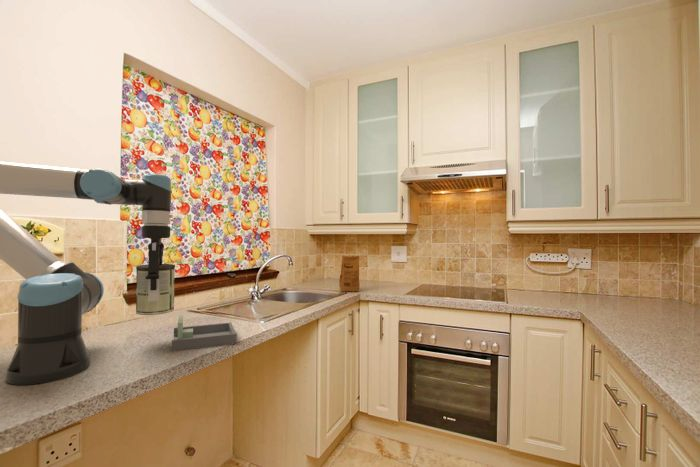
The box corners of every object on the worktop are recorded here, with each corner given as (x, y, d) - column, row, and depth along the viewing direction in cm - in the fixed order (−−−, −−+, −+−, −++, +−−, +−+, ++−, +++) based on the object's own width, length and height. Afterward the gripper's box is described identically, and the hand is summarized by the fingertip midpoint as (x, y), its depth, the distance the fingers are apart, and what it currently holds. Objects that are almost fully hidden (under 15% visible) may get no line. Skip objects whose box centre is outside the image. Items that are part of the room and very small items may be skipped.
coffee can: (130, 311, 101) (130, 265, 101) (166, 306, 109) (166, 263, 109) (142, 317, 94) (143, 267, 94) (180, 311, 102) (181, 265, 102)
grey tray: (171, 351, 97) (171, 340, 97) (173, 336, 110) (174, 327, 110) (236, 343, 104) (236, 333, 105) (231, 330, 118) (231, 322, 118)
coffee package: (339, 289, 211) (339, 255, 211) (358, 289, 212) (359, 255, 212) (339, 292, 201) (340, 256, 201) (359, 292, 202) (360, 256, 202)
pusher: (177, 346, 99) (177, 323, 99) (178, 335, 110) (179, 314, 110) (192, 345, 101) (193, 322, 101) (192, 334, 111) (193, 313, 111)
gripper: (168, 224, 93) (166, 304, 93) (172, 226, 113) (171, 291, 113) (136, 224, 90) (135, 306, 90) (146, 225, 110) (145, 292, 110)
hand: (155, 297), depth 101 cm, fingers closed on coffee can, 10 cm apart
